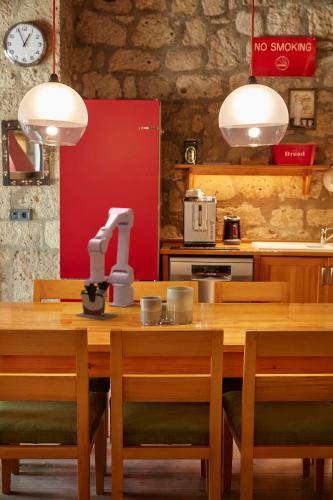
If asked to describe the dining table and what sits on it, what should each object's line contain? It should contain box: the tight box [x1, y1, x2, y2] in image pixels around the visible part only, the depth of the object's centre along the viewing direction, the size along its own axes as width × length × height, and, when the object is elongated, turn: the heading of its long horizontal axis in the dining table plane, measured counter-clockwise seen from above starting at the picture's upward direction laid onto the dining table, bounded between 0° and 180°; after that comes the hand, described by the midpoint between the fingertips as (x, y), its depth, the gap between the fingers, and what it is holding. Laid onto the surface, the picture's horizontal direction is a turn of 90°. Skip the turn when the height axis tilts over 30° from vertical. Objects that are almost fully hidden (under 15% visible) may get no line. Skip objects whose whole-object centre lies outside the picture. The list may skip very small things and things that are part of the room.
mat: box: [75, 312, 119, 321], centre depth 229 cm, size 10×14×1 cm
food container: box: [79, 288, 108, 317], centre depth 228 cm, size 12×6×10 cm, turn 60°
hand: (97, 300), depth 228 cm, fingers open, 6 cm apart
